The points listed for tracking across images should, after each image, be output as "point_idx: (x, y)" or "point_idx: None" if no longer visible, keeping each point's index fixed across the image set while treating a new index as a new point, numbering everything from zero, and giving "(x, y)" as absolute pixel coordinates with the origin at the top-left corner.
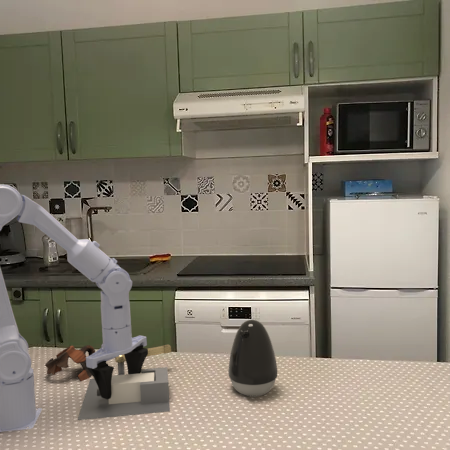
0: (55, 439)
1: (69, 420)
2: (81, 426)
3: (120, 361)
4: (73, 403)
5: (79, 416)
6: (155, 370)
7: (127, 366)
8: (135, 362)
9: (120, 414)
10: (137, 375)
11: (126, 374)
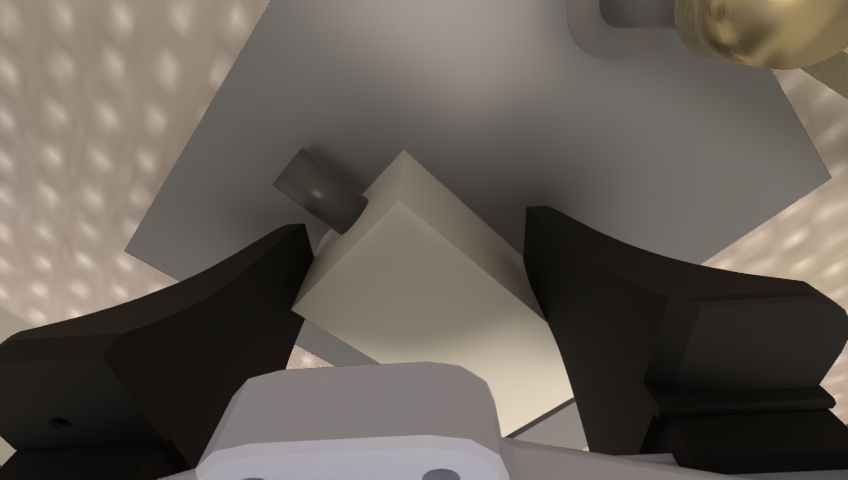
0: (15, 280)
1: (104, 189)
2: (145, 274)
3: (692, 43)
4: (179, 4)
5: (143, 230)
6: None
7: (572, 247)
8: (580, 370)
9: (309, 341)
10: (518, 340)
11: (492, 277)
